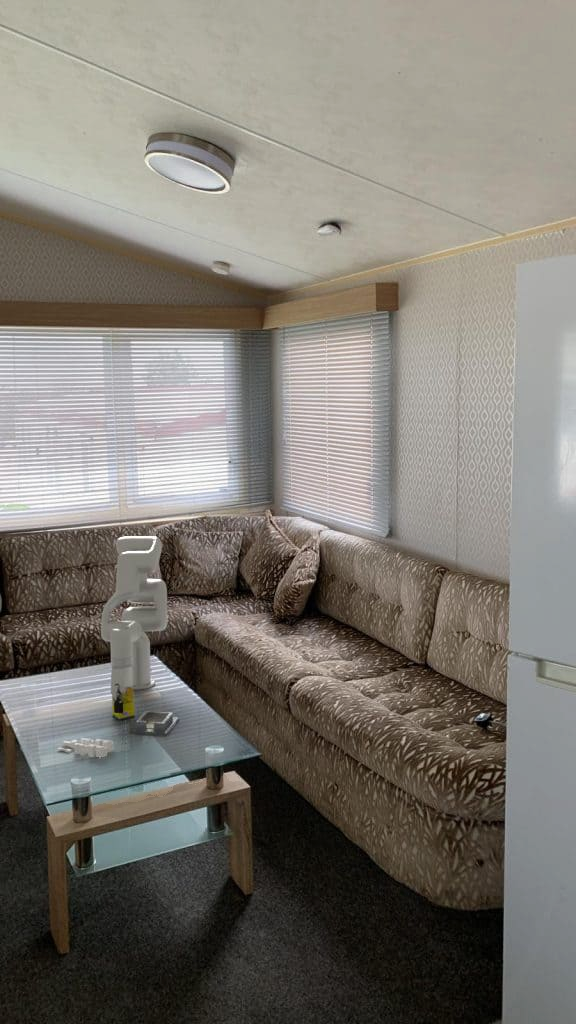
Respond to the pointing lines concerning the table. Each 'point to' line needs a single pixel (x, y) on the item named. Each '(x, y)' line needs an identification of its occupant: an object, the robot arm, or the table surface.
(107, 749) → the modular blocks
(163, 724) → the grey square tray
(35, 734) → the table surface
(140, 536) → the robot arm
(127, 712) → the supplement box
